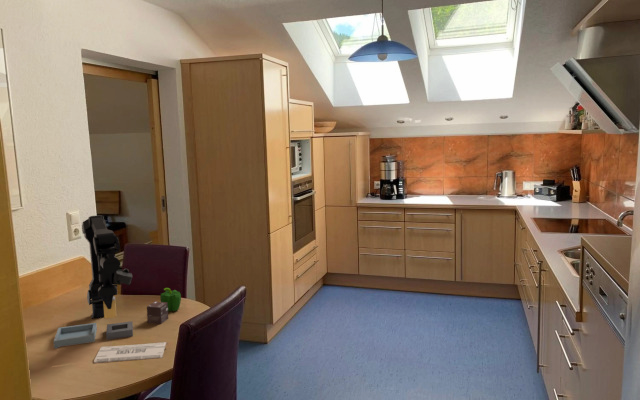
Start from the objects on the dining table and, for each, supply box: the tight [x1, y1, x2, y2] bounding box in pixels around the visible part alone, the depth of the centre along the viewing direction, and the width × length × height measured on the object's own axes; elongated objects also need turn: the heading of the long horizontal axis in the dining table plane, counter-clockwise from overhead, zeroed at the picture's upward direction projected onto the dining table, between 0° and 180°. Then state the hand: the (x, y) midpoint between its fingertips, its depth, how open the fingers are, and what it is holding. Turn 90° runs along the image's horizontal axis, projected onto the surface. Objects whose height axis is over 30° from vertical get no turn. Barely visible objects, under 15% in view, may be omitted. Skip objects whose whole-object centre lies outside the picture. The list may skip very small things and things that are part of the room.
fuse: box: [103, 296, 117, 320], centre depth 185 cm, size 3×4×7 cm
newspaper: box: [93, 341, 168, 364], centre depth 172 cm, size 23×12×2 cm, turn 99°
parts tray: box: [53, 322, 98, 349], centre depth 183 cm, size 13×13×3 cm
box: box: [146, 301, 169, 325], centre depth 199 cm, size 6×6×7 cm
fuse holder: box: [105, 320, 134, 341], centre depth 187 cm, size 9×9×3 cm
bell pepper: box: [159, 287, 182, 312], centre depth 212 cm, size 8×8×10 cm
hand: (109, 307), depth 185 cm, fingers closed on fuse, 3 cm apart
